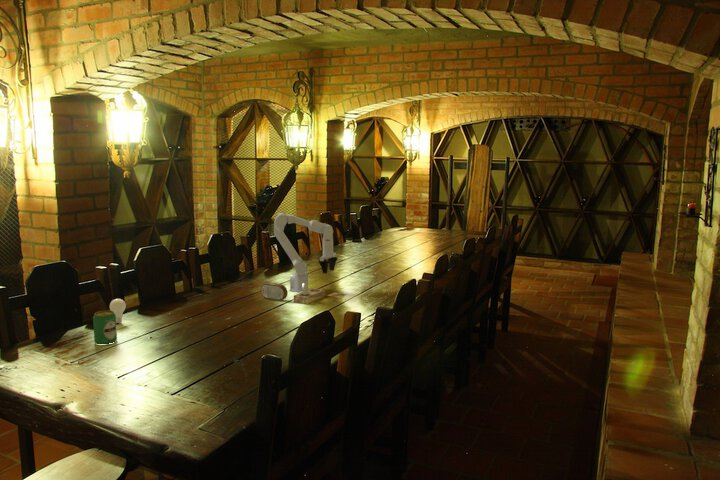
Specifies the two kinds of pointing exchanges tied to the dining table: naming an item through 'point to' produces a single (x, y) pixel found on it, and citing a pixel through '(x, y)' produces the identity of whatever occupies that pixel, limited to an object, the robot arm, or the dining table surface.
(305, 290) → the pin
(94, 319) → the beverage can
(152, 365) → the dining table surface
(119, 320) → the lightbulb
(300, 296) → the wooden rectangular frame
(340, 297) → the cork coaster
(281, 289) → the tin
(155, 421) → the dining table surface
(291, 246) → the robot arm
